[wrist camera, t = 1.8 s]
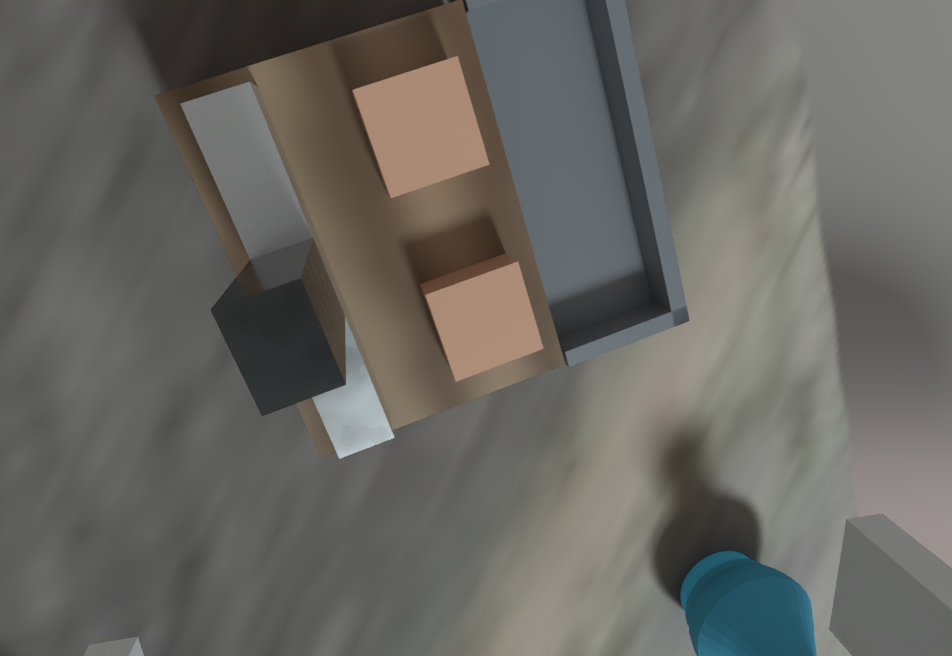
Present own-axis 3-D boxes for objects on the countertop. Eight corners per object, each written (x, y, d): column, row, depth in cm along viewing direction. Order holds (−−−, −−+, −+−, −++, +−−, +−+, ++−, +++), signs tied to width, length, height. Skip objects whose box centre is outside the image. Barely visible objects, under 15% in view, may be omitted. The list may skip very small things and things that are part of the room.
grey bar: (339, 432, 35) (338, 572, 23) (195, 107, 29) (101, 84, 17) (390, 413, 35) (412, 542, 24) (258, 87, 29) (205, 52, 18)
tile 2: (387, 194, 31) (390, 198, 29) (351, 93, 30) (352, 89, 27) (478, 162, 32) (489, 164, 30) (448, 62, 30) (457, 55, 28)
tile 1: (448, 365, 35) (456, 381, 32) (419, 284, 33) (425, 295, 31) (530, 334, 35) (543, 348, 33) (505, 253, 34) (518, 261, 31)
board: (322, 426, 39) (320, 457, 35) (176, 100, 32) (154, 95, 28) (544, 343, 40) (565, 364, 36) (448, 15, 33) (461, -1, 30)
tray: (550, 348, 40) (569, 366, 37) (450, 3, 33) (462, -12, 30) (661, 306, 41) (689, 320, 38) (586, -40, 34) (612, -59, 31)
